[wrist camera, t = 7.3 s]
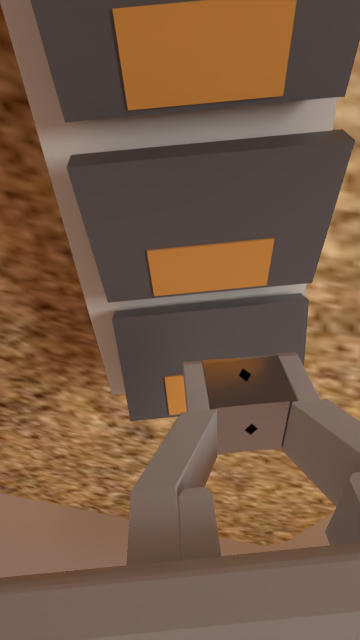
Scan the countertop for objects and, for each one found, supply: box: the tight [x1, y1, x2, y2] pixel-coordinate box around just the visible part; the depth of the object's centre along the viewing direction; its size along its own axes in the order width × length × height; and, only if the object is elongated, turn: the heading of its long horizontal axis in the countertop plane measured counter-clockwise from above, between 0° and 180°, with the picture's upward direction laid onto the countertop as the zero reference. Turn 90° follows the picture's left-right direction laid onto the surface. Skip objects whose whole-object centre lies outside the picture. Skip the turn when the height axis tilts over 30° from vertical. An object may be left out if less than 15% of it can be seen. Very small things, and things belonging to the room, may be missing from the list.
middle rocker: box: [66, 129, 355, 303], centre depth 13 cm, size 6×9×1 cm, turn 96°
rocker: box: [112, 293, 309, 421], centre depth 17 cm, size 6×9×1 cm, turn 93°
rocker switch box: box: [0, 0, 338, 395], centre depth 16 cm, size 21×11×4 cm, turn 5°
